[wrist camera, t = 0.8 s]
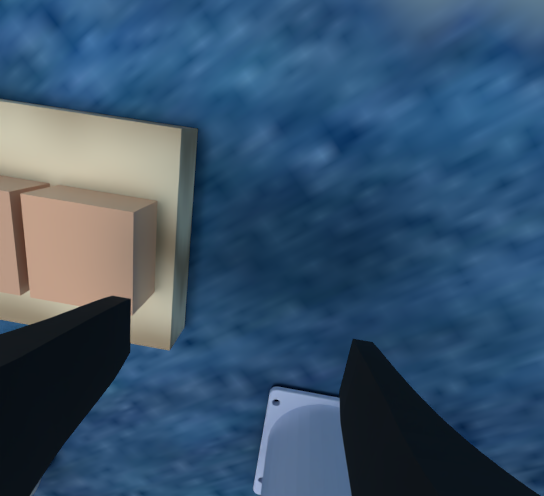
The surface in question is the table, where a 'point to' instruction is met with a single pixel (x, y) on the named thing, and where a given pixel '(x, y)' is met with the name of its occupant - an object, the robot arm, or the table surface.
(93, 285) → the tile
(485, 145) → the table surface
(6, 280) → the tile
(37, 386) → the robot arm
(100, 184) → the board
